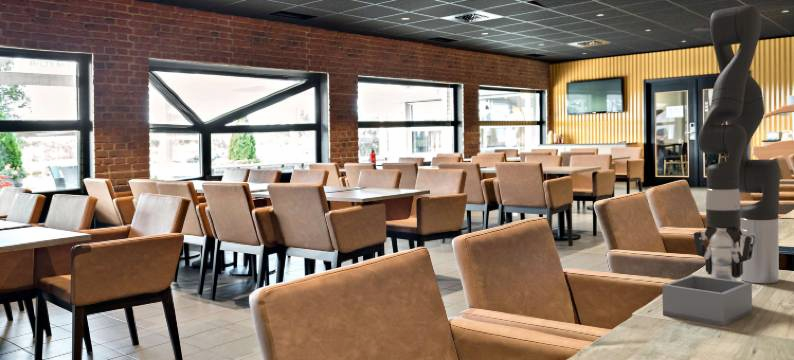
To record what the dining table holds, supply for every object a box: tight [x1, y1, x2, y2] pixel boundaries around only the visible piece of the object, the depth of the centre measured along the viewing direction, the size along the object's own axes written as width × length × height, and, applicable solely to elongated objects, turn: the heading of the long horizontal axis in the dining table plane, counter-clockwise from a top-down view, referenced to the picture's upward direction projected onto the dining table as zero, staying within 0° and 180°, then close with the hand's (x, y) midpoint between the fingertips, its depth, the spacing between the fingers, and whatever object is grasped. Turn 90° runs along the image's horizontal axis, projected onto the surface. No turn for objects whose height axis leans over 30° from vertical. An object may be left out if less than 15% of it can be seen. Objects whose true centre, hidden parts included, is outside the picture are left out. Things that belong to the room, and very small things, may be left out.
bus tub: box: [661, 274, 753, 327], centre depth 154 cm, size 14×14×7 cm
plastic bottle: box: [708, 228, 740, 281], centre depth 164 cm, size 6×7×20 cm
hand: (723, 275), depth 164 cm, fingers closed on plastic bottle, 5 cm apart
